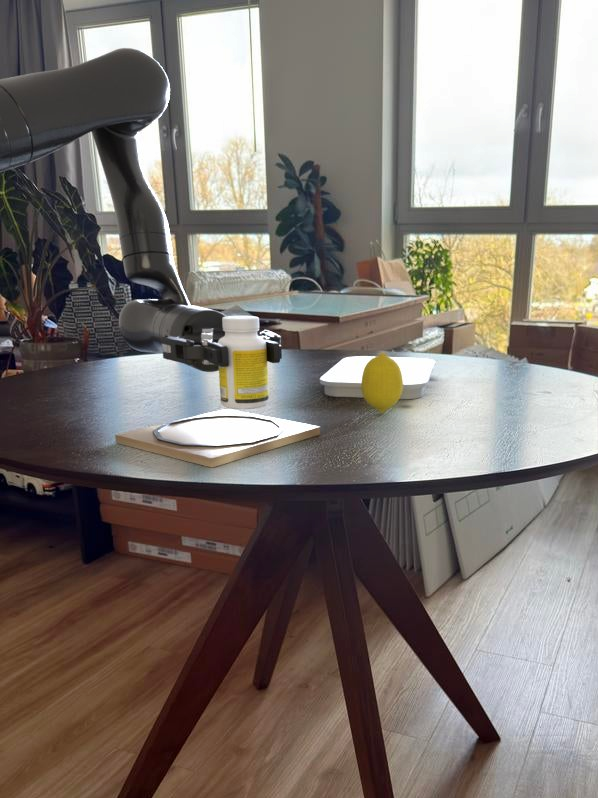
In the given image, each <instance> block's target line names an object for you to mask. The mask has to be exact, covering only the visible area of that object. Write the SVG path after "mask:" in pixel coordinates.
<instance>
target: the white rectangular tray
mask: <svg viewBox="0 0 598 798" xmlns="http://www.w3.org/2000/svg"><path fill="white" fill-rule="evenodd" d="M374 357H375V356H368V355H360V356H359V355H358V356H357V355H355V356H354V355H353V356H347V357H344V358H342V359H341V360H340V361H338V362H337V363H336V364H335V365H333V366H332V367H331V368H330V369H329V370H328V371H326V372H325V373H324V374H323V375H322V376H320V378H319V384H320V385H322V386H324V395H326V396H328V397H335V398H336V397H338V398H362V399H363V398H364V396H363V393H362V387H361V381H362V374H363V371H364V368H365V366H366V364H367V363H368V362H369V361H370V360H371V359H372V358H374ZM389 357H390V358H392V359H393V360H395V361H396V363H397V364H398V365H399V367H400V369H401V373H402V378H403V389H402V393H401V396H400V398H399V400H416V399H420V398H423V396H424V393H425V391H426V388H427V386H428V384H429V382H430V379H431V377H432V374H433V372H434V369H435V366H436V360H435V359H432V358H426V357H405V356H402V357H401V356H399V357H398V356H394V357H393V356H389ZM364 399H365V398H364Z"/></svg>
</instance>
